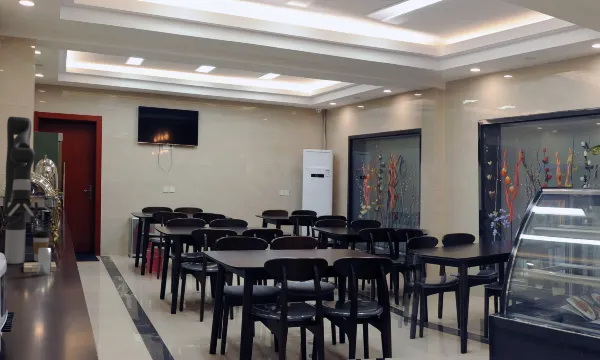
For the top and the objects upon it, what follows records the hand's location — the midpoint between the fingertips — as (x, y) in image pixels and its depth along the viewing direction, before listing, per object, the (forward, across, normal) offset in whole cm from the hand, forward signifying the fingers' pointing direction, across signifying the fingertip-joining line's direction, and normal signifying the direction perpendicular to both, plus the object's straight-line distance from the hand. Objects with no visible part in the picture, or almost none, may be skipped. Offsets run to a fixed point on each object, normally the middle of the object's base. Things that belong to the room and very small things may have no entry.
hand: (20, 224), depth 266 cm
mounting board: (+21, -10, -13) cm, 26 cm away
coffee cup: (+16, -13, -45) cm, 50 cm away
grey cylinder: (+23, -10, +5) cm, 26 cm away
